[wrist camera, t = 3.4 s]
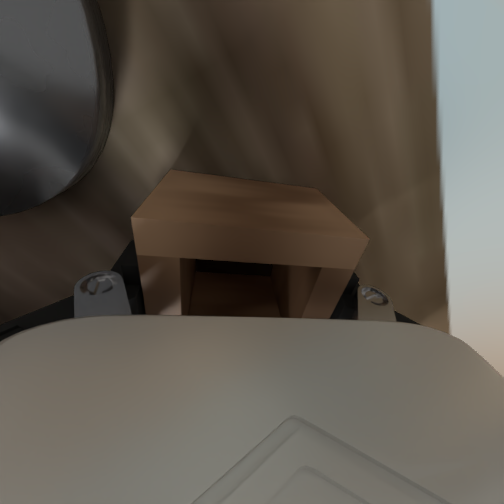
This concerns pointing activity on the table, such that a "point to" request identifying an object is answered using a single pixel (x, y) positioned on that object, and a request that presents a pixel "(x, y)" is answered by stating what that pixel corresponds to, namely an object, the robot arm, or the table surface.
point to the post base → (51, 97)
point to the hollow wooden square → (243, 248)
